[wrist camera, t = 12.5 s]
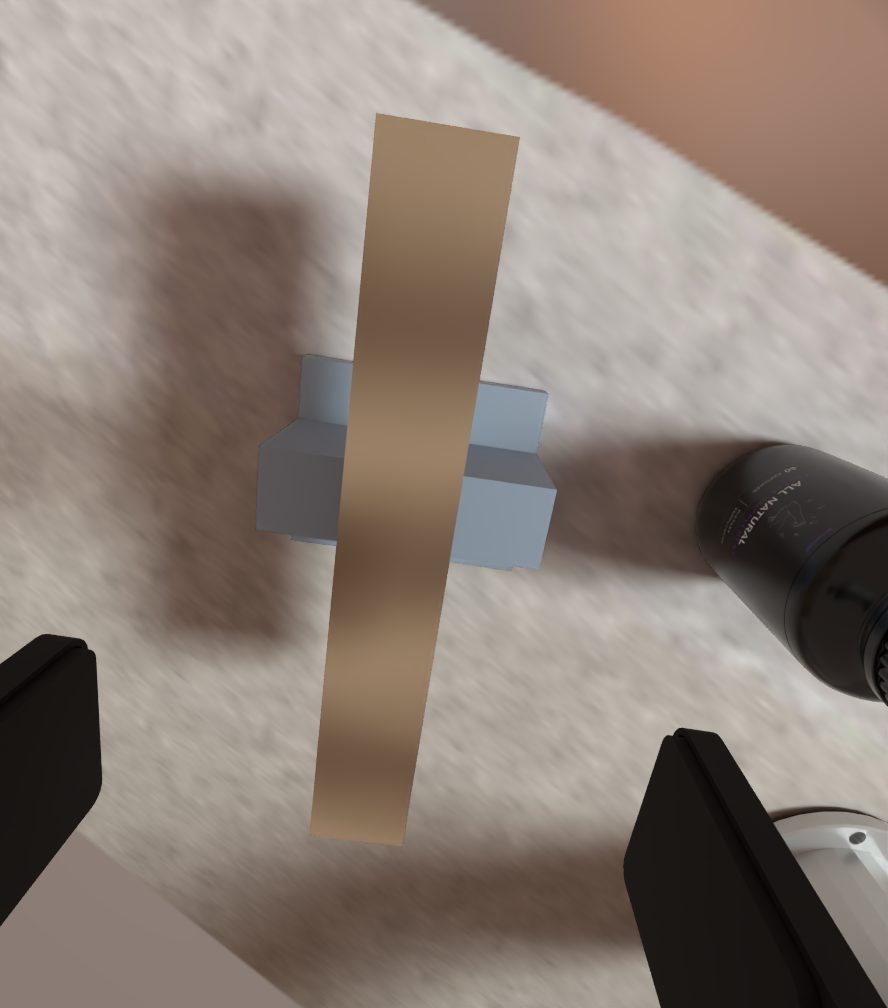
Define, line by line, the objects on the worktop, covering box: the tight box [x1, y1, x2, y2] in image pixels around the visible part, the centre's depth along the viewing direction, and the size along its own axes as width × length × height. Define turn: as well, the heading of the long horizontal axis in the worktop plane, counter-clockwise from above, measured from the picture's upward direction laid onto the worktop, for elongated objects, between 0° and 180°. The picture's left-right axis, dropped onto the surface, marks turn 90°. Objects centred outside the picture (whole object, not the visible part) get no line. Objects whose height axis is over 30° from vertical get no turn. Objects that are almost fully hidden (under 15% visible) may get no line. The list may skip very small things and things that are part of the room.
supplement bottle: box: [696, 445, 888, 706], centre depth 20 cm, size 7×7×12 cm
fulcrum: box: [255, 355, 557, 571], centre depth 22 cm, size 8×10×6 cm
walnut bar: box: [310, 113, 520, 846], centre depth 17 cm, size 20×3×4 cm, turn 172°
